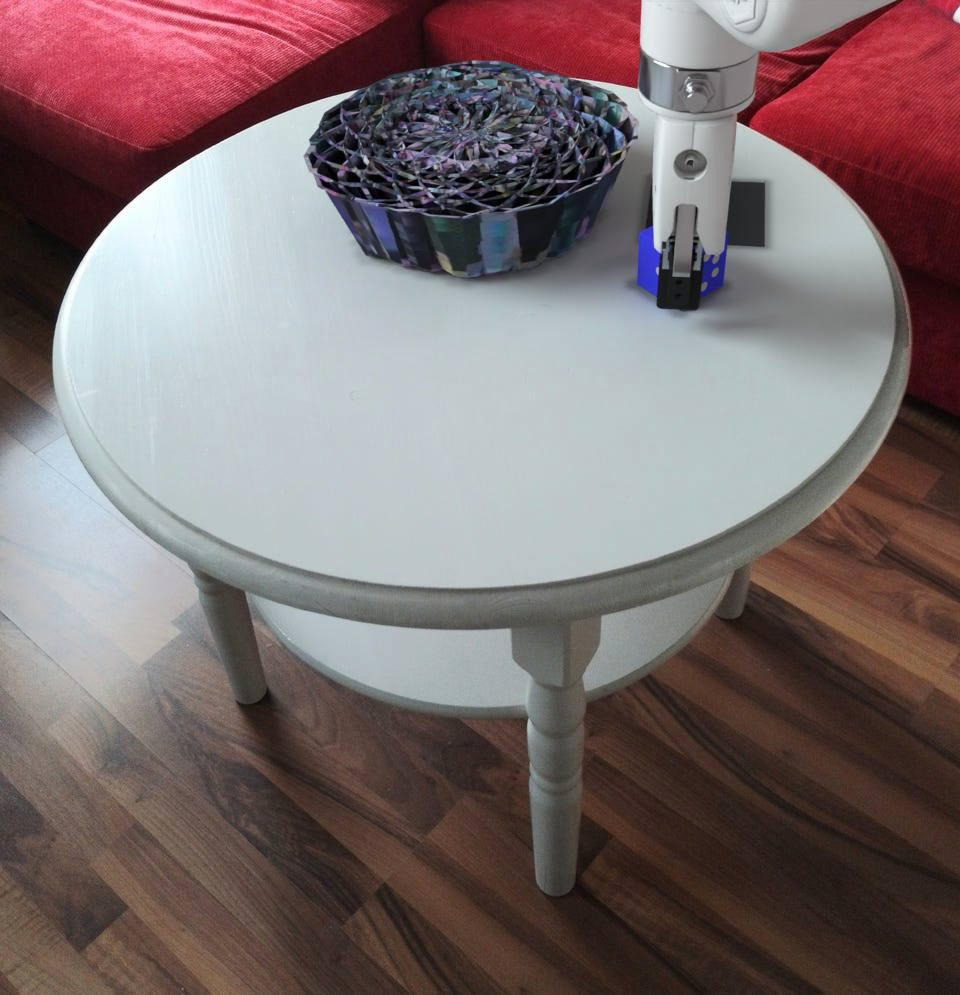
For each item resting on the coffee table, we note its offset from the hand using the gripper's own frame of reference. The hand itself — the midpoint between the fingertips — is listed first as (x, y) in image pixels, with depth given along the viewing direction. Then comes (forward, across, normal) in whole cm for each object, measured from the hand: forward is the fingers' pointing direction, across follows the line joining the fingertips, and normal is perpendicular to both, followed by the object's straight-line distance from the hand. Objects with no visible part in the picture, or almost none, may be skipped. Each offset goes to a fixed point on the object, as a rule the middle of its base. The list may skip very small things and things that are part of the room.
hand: (677, 302), depth 84 cm
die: (+3, +5, 0) cm, 6 cm away
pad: (+2, +16, -2) cm, 17 cm away
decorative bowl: (+3, +15, +18) cm, 24 cm away
